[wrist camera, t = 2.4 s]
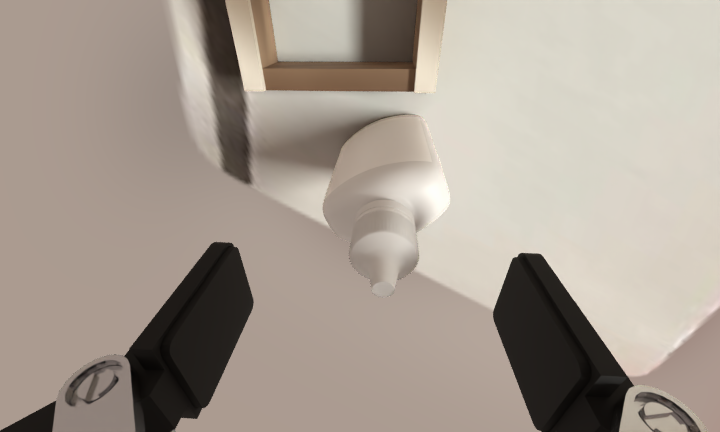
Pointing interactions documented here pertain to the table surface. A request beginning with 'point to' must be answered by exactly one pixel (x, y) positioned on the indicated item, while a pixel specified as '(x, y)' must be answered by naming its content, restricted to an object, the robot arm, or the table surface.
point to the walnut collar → (266, 73)
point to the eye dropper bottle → (386, 197)
